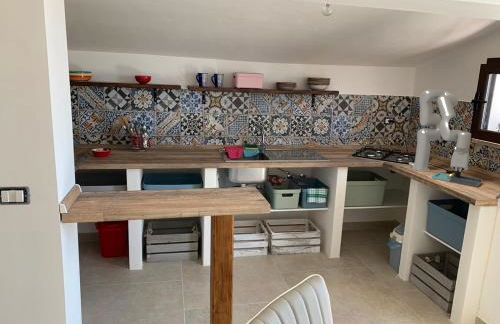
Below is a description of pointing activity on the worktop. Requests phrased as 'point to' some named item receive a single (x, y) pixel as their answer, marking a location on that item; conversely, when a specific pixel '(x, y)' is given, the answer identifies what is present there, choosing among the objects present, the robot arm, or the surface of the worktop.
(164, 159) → the worktop surface
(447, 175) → the brass puck
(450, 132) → the robot arm
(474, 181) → the slot plate
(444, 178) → the tray
